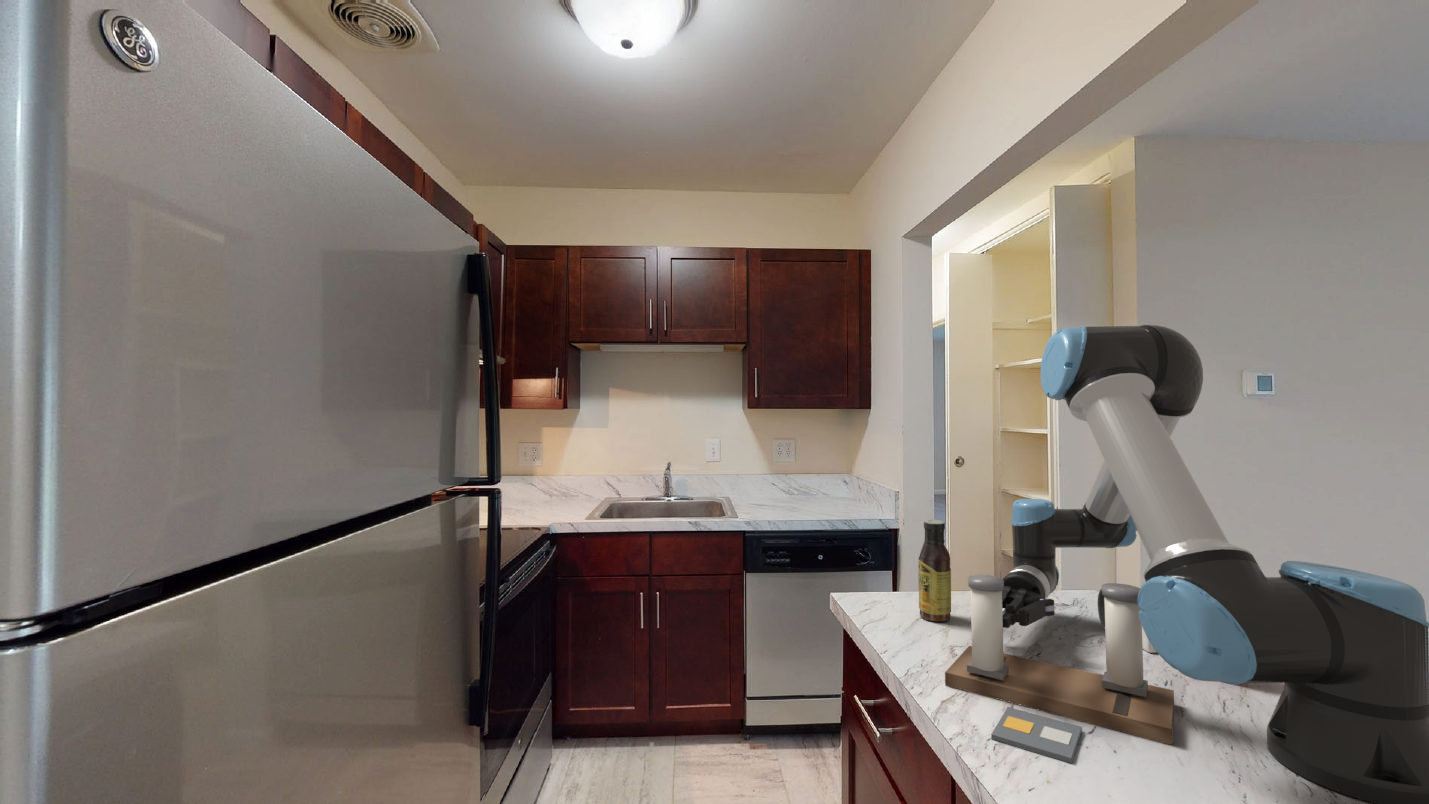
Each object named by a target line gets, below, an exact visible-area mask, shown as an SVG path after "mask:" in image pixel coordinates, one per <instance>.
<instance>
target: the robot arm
mask: <svg viewBox="0 0 1429 804" xmlns="http://www.w3.org/2000/svg"><path fill="white" fill-rule="evenodd" d="M1044 347H1045V348H1044V349H1043V353H1042V356H1041V357H1042V358H1041V364H1040V384H1041V388H1042V391H1043V392H1044V395H1045V396H1046V397H1047V398H1048V399H1052V400H1055V401H1061V400H1063V401H1064V400H1065V403H1066V405H1067V407H1068V409H1069V411H1070V413H1071V414H1072V416H1073V417H1074V418H1076V419H1077V420H1079V421H1083V422H1087V424H1088V427H1089V429H1090V431H1091V433H1092V436H1093V438H1094V440H1095V441H1096V445H1097V446H1098V448H1099V450H1100V452H1101V455H1102V457H1103V461H1102V463H1101V466H1100V468H1099V471H1098V473H1097V475H1096V477H1095V480H1094V482H1093V484H1092V486H1091V489H1090V492H1089V493H1088V495H1087V497H1086V500H1085V502H1084V504H1083V506H1082V507H1081V508H1071V509H1069V508H1068V509H1067V508H1062V509H1061V508H1059V509H1058V508H1055V504H1054V503H1053V501H1051V500H1048V499H1041V498H1020V499H1016V500H1015V501H1013V503H1012V510H1011V520H1010V521H1011V533H1012V567H1013V568H1012V570H1011V571H1009V572H1008V573H1007V574H1006V575H1005V576H1004V577H1003V578H1002V579H1003V580H1004V590H1002V616H1003V628H1006V629H1008V628H1010V627H1011V626H1014V625H1015V624H1016V623H1018V624H1019V626H1021V627H1027V626H1030V625H1031V624H1034V623H1036V622H1037V621H1039V620H1042V619H1043V618H1046V617H1050V616H1055V613H1056V612H1055V599H1052V598H1048V597H1049V596H1050V595H1051V594H1052V593H1053V592H1054V591H1055V590H1056V588H1057V586H1058V585H1059V579H1060V573H1059V569H1058V567H1057V565H1056V549H1057V548H1059V549H1063V548H1064V549H1065V548H1069V549H1070V548H1079V549H1080V548H1082V549H1083V548H1089V549H1091V548H1095V549H1097V548H1098V549H1099V548H1100V549H1101V548H1102V549H1104V548H1105V549H1114V548H1123V547H1129V546H1131V545H1133V544H1134V543H1135V541H1136V539H1137V534H1138V535H1139V537H1140V540H1141V541H1142V544H1143V547H1144V549H1145V551H1146V553H1147V555H1148V557H1149V559H1150V562H1149V564H1148V566H1147V567H1146V569H1145V570H1144V572H1143V577H1144V580H1145V582H1144V583H1143V584H1142V585H1141V587H1140V588H1141V589H1140V591H1139V594H1138V605H1139V607H1140V608H1141V611H1139V612H1138V613H1139V617H1140V621H1141V624H1142V627H1143V629H1144V632H1145V634H1146V636H1147V638H1148V639H1149V641H1150V643H1151V644H1152V646H1153V647H1154V649H1155V650H1156V651H1157V654H1158V655H1159V656H1160V657H1161V658H1162V659H1163V661H1164V662H1165V663H1167V665H1168V666H1170V667H1171V668H1173V669H1174V670H1176V671H1178V672H1180V673H1181V674H1182V675H1184V676H1185V677H1188V678H1191V679H1193V680H1197V681H1200V682H1201V681H1202V682H1215V683H1218V682H1219V683H1222V684H1226V685H1242V684H1244V683H1245V684H1246V683H1250V684H1251V683H1255V684H1256V683H1257V684H1259V683H1261V684H1262V683H1266V684H1267V683H1268V684H1269V683H1270V684H1271V683H1274V684H1275V683H1283V684H1284V686H1283V689H1282V692H1281V695H1280V697H1279V699H1278V700H1277V703H1276V705H1275V707H1274V711H1273V712H1272V715H1271V717H1270V719H1269V721H1268V723H1267V727H1266V746H1267V750H1268V751H1269V753H1270V755H1272V757H1274V758H1275V759H1276V760H1277V761H1278V762H1279V763H1280V764H1282V765H1283V766H1284V767H1286V768H1288V769H1289V770H1291V771H1292V772H1294V773H1296V774H1298V775H1299V776H1301V777H1303V778H1305V779H1307V780H1308V781H1311V782H1313V783H1316V784H1317V785H1320V786H1322V787H1325V788H1327V789H1329V790H1332V791H1335V792H1337V793H1340V794H1342V795H1343V794H1344V795H1346V796H1349V797H1351V798H1356V799H1358V800H1362V801H1365V802H1369V803H1372V804H1429V621H1427V615H1426V614H1427V612H1426V605H1425V604H1426V603H1425V599H1424V597H1423V595H1422V594H1421V593H1420V591H1418V590H1417V589H1416V588H1415V587H1413V586H1412V585H1409V584H1408V583H1406V582H1403V581H1401V580H1400V581H1399V580H1396V579H1393V578H1390V577H1385V576H1381V575H1378V574H1374V573H1369V572H1364V571H1359V570H1355V569H1350V568H1344V567H1339V566H1333V565H1327V564H1322V563H1314V562H1307V561H1298V560H1297V561H1296V560H1287V561H1284V562H1282V563H1281V565H1280V569H1279V570H1278V574H1279V575H1280V577H1279V576H1277V577H1275V576H1274V577H1273V576H1269V577H1268V576H1266V575H1265V574H1264V572H1263V571H1262V569H1261V568H1260V566H1259V564H1258V562H1257V560H1256V558H1255V557H1254V555H1253V554H1252V552H1251V551H1249V550H1247V549H1245V548H1243V547H1240V546H1236V545H1234V544H1231V543H1229V540H1228V539H1227V537H1226V535H1225V534H1224V532H1223V530H1222V528H1221V526H1220V524H1219V522H1218V521H1217V519H1216V517H1215V516H1214V514H1213V512H1212V510H1211V508H1210V506H1209V505H1208V503H1207V500H1205V498H1204V496H1203V494H1202V493H1201V489H1200V488H1199V486H1198V485H1197V483H1196V481H1195V479H1194V477H1193V476H1192V474H1191V472H1190V470H1189V468H1188V467H1187V465H1186V463H1185V461H1184V460H1183V457H1182V456H1181V454H1180V453H1179V451H1178V449H1177V447H1176V445H1175V444H1174V442H1173V440H1172V438H1171V436H1172V434H1173V433H1174V431H1175V429H1176V426H1177V425H1178V423H1179V421H1180V419H1181V418H1185V417H1187V416H1188V415H1190V414H1191V413H1192V412H1193V410H1194V408H1195V406H1196V405H1197V402H1198V400H1199V398H1200V395H1201V392H1202V388H1203V382H1204V368H1203V364H1202V359H1201V356H1200V355H1199V353H1198V351H1197V349H1196V347H1195V346H1194V344H1193V343H1191V341H1190V340H1189V339H1188V338H1186V336H1185V335H1183V334H1182V333H1180V332H1179V331H1176V330H1174V329H1172V328H1168V327H1166V326H1162V325H1156V324H1154V325H1153V324H1143V325H1127V326H1126V325H1123V326H1122V325H1119V326H1117V325H1116V326H1115V325H1113V326H1111V325H1110V326H1085V325H1080V326H1077V327H1067V328H1061V329H1059V330H1057V331H1056V332H1054V334H1052V335H1051V337H1050V338H1049V339H1048V341H1047V342H1046V345H1045V346H1044Z"/></svg>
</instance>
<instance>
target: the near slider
mask: <svg viewBox="0 0 1429 804" xmlns="http://www.w3.org/2000/svg"><path fill="white" fill-rule="evenodd" d="M1101 589H1102V595H1103V596H1104V601H1105V628H1104V630H1105V631H1104V632H1105V663H1106V664H1105V665H1106V666H1105V667H1106V668H1105V670H1106V671H1104V673H1103V674H1102V675H1103V679H1102V687H1103V688H1108V689H1112V690H1116V691H1121V692H1125V693H1129V694H1134V695H1138V696H1143V697H1147V691H1148V685H1149V681H1148V680H1146V679H1144V652H1143V650H1144V649H1143V645H1142V624H1141V621H1140V617H1139V613H1138V612H1139V611H1141V608H1140V607H1139V605H1138V594H1139V591H1140V589H1141V587H1138V586H1135V585H1131V584H1124V583H1115V582H1113V583H1112V582H1109V583H1103V584H1101Z"/></svg>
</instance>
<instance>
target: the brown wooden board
mask: <svg viewBox="0 0 1429 804" xmlns="http://www.w3.org/2000/svg"><path fill="white" fill-rule="evenodd" d="M1003 656H1004V664H1005V665H1009V673H1008V675H1007V676H1006V678H1005V679H1004V681H1003V680H999V679H995V678H991V677H987V676H983V675H979V674H975V673H971V672H967V664H968V663H969V662H970V661H971V660H972V645H968V646H967V647H966V649H965V650H963V652H962V653H961V654H960V655H959V656H958V658H956V659H955V661H954V662H953V663H952V664H951V665H950V666H949V668H947V669H946V670H945V672H944V682H945V686H947V687H949V688H954V689H958V690H961V691H965V692H969V693H972V694H978V695H981V696H985V697H987V698H992V699H996V698H998V699H997V700H999V699H1002V700H1001V701H1003V700H1005V701H1004V702H1007V701H1010V702H1009V703H1011V702H1013V703H1012V704H1015V703H1016V704H1015V705H1018V704H1021V705H1020V706H1022V705H1025V706H1024V707H1026V706H1027V708H1030V707H1032V708H1031V709H1034V708H1035V709H1034V710H1037V709H1039V710H1038V711H1041V710H1043V711H1042V712H1046V713H1049V714H1052V713H1053V715H1056V716H1061V717H1065V718H1068V719H1071V720H1076V721H1080V722H1083V723H1086V724H1092V725H1095V726H1098V727H1102V728H1106V729H1109V730H1110V729H1111V730H1114V731H1117V732H1122V733H1124V734H1128V735H1133V736H1136V737H1141V738H1143V739H1147V740H1151V741H1157V742H1160V743H1163V744H1166V745H1170V746H1172V745H1173V737H1174V736H1173V735H1174V734H1173V731H1174V718H1175V717H1174V716H1175V715H1174V714H1175V691H1174V690H1173V689H1169V688H1165V687H1160V686H1156V685H1151V684H1148V691H1147V697H1143V696H1138V695H1134V694H1129V693H1125V692H1121V691H1116V690H1112V689H1108V688H1103V687H1102V679H1103V675H1104V674H1102V673H1101V674H1100V673H1096V672H1093V671H1088V670H1083V669H1078V668H1072V667H1068V666H1064V665H1059V664H1054V663H1050V662H1046V661H1042V660H1037V659H1033V658H1032V659H1031V658H1028V657H1022V656H1019V655H1014V654H1010V653H1004V652H1003Z"/></svg>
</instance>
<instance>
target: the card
mask: <svg viewBox="0 0 1429 804" xmlns="http://www.w3.org/2000/svg"><path fill="white" fill-rule="evenodd" d="M1082 728H1083V727H1082V726H1081V725H1077V724H1074V723H1070V722H1067V721H1062V720H1058V719H1055V718H1050V717H1049V716H1048V717H1047V716H1043V715H1041V714H1036V713H1032V712H1030V711H1025V710H1021V709H1018V708H1014V707H1010V706H1007V708H1006V709H1005V711H1004V712H1003V714H1002V716H1001V718H1000V719H999V720H998V722H997V724H996V726H995V727H994V729H993V731H992V732H991V736H990V737H991V740H993V741H997V742H1000V743H1003V744H1007V745H1010V746H1013V747H1016V748H1019V749H1020V748H1021V749H1022V750H1026V751H1030V752H1033V753H1037V754H1039V755H1042V756H1046V757H1049V758H1052V759H1056V760H1059V761H1063V762H1066V763H1069V764H1072V763H1073V759H1074V756H1075V753H1076V750H1077V747H1078V744H1079V741H1080V738H1081V736H1082V731H1083V729H1082Z"/></svg>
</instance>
